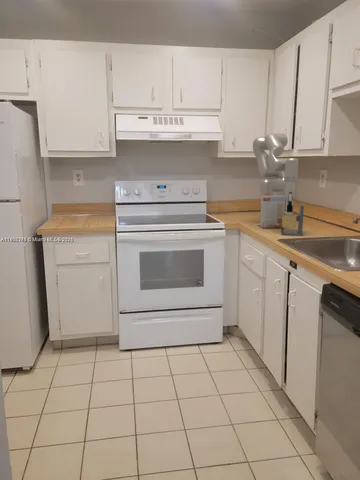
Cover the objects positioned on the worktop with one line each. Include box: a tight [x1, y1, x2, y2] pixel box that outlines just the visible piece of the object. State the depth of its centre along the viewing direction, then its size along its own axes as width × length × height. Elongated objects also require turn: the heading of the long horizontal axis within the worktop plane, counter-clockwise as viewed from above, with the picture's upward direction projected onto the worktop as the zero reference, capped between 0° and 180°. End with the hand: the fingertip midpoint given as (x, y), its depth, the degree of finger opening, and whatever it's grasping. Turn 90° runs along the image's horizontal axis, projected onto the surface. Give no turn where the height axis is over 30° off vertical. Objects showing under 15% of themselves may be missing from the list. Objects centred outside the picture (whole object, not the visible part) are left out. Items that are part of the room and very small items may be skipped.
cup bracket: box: [281, 202, 305, 237], centre depth 217 cm, size 16×12×17 cm
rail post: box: [285, 199, 294, 215], centre depth 216 cm, size 4×4×14 cm
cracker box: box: [260, 194, 286, 229], centre depth 237 cm, size 14×6×21 cm, turn 92°
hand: (289, 211), depth 216 cm, fingers closed on rail post, 4 cm apart
